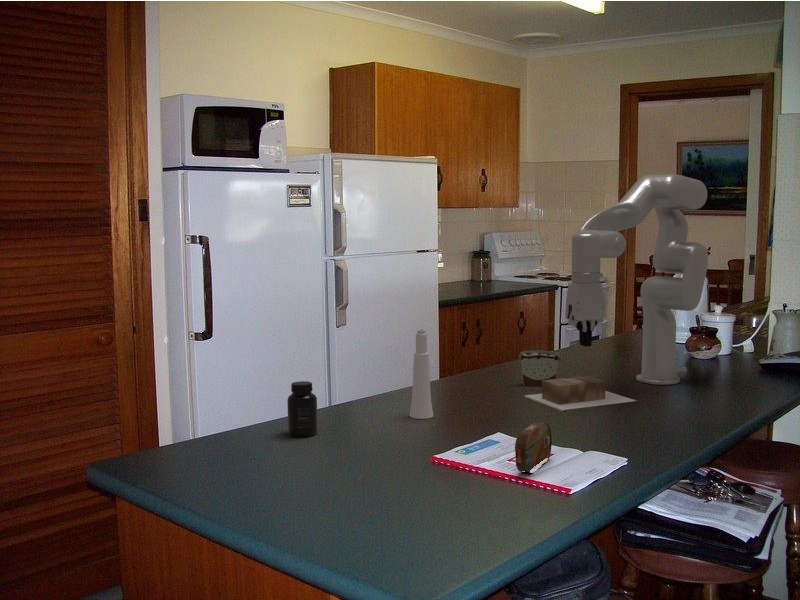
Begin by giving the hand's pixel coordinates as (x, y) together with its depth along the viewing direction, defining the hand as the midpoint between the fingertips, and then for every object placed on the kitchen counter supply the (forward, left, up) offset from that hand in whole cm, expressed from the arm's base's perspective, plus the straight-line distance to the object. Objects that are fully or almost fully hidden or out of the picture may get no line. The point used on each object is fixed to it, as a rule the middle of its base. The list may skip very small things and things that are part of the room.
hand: (585, 345), depth 222 cm
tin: (+46, +44, -15) cm, 65 cm away
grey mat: (+2, 0, -15) cm, 15 cm away
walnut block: (-4, 0, -12) cm, 12 cm away
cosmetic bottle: (+49, -2, -15) cm, 51 cm away
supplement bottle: (+81, +1, -15) cm, 82 cm away
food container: (+2, -20, -15) cm, 25 cm away
